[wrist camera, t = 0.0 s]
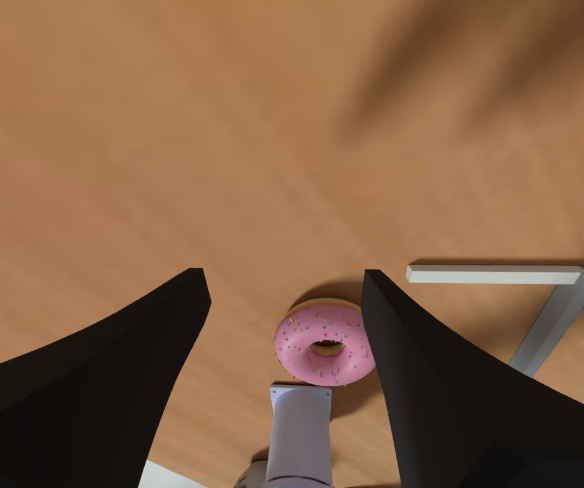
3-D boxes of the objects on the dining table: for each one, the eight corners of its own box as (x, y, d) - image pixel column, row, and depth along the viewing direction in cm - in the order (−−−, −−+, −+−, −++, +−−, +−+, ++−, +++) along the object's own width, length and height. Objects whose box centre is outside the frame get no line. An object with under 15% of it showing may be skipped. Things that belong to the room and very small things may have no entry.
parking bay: (505, 385, 28) (516, 400, 27) (380, 380, 29) (384, 393, 28) (584, 265, 20) (605, 277, 19) (408, 264, 21) (414, 275, 20)
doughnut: (397, 308, 24) (412, 342, 20) (349, 369, 29) (355, 406, 26) (295, 275, 23) (292, 306, 19) (265, 346, 28) (258, 380, 24)
